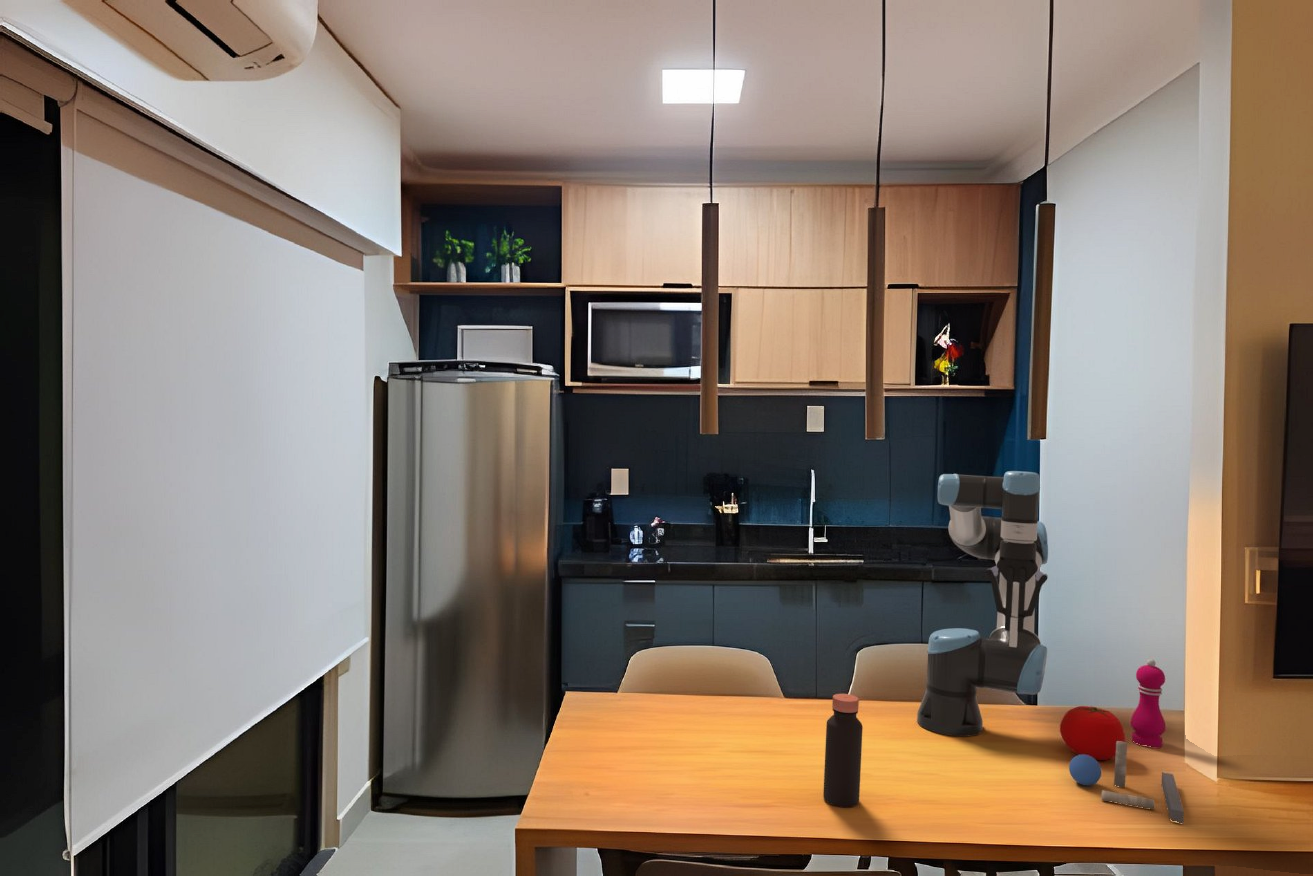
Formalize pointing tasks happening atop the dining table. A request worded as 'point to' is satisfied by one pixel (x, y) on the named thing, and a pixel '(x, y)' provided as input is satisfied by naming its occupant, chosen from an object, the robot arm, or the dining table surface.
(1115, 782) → the pin
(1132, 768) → the dining table surface
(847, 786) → the bottle
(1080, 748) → the tomato
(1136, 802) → the pin
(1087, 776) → the ball
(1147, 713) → the pepper mill
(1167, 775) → the grey square rod
